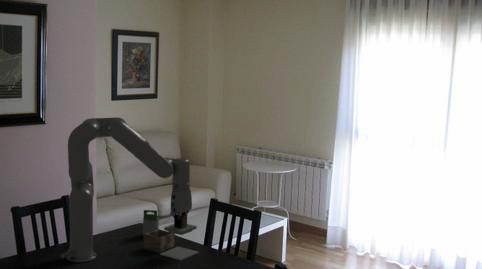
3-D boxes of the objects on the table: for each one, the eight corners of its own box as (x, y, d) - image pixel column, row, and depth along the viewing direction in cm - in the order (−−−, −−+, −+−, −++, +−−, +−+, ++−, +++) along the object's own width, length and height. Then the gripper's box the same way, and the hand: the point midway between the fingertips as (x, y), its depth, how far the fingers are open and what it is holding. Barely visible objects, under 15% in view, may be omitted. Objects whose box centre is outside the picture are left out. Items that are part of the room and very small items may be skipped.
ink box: (158, 234, 275) (159, 208, 274) (156, 237, 271) (157, 210, 270) (145, 234, 276) (145, 207, 274) (142, 236, 272) (143, 209, 270)
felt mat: (180, 260, 240) (180, 259, 240) (159, 254, 246) (159, 253, 246) (198, 252, 251) (198, 251, 251) (178, 247, 257) (178, 246, 257)
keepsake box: (160, 253, 248) (160, 238, 247) (143, 249, 254) (143, 234, 253) (174, 247, 256) (174, 233, 256) (158, 243, 262) (158, 229, 261)
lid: (182, 236, 240) (182, 220, 239) (164, 232, 246) (164, 216, 245) (196, 230, 249) (196, 215, 248) (178, 226, 254) (179, 211, 253)
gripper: (175, 190, 236) (175, 232, 238) (198, 184, 250) (198, 224, 252) (162, 188, 240) (161, 229, 242) (185, 182, 254) (185, 221, 256)
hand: (180, 226), depth 247 cm, fingers closed on lid, 3 cm apart
